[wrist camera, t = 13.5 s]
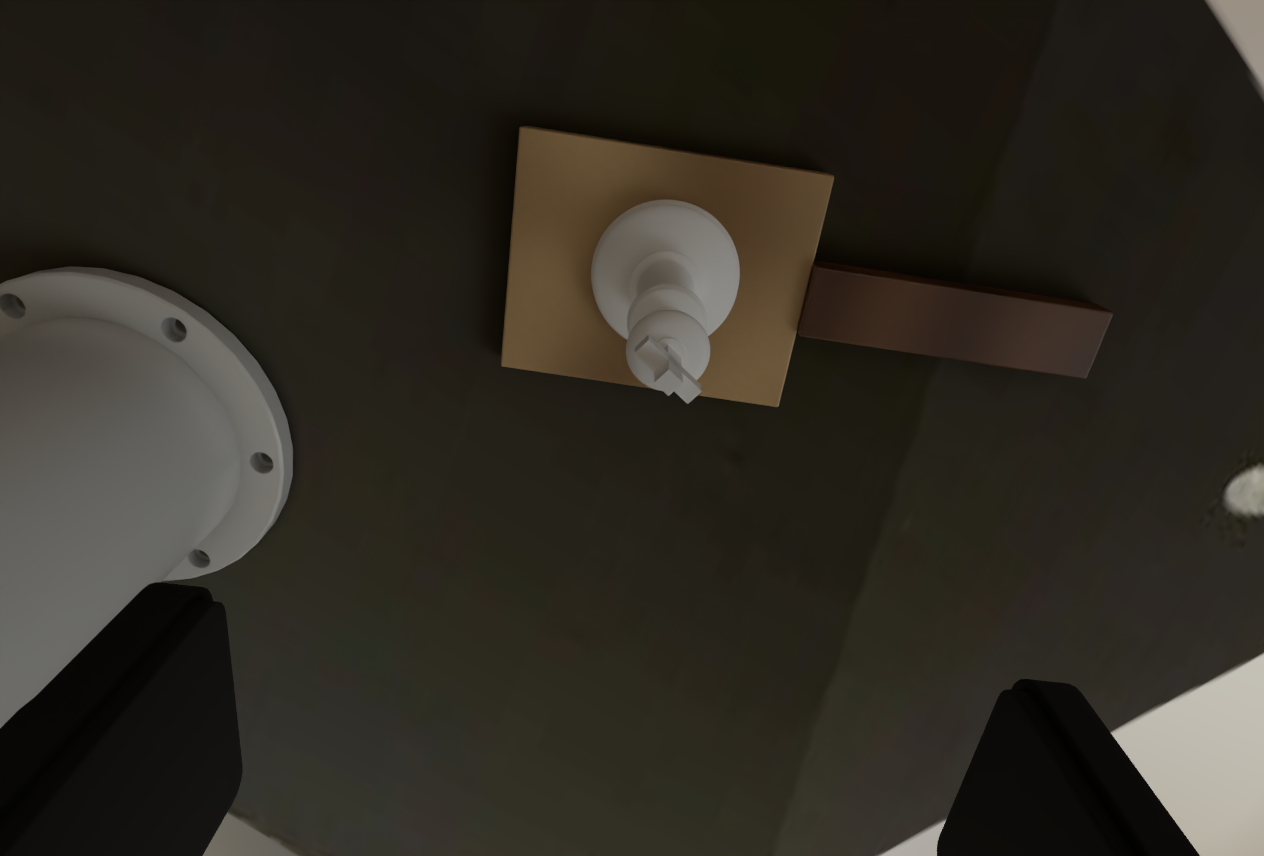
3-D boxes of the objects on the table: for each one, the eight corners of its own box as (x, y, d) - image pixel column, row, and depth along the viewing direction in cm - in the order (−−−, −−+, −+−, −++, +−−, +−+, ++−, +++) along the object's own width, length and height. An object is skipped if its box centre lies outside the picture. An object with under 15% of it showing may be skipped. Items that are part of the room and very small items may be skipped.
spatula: (504, 359, 28) (497, 370, 27) (523, 124, 24) (517, 126, 23) (1041, 439, 28) (1056, 453, 27) (1130, 220, 25) (1151, 226, 24)
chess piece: (666, 165, 24) (671, 215, 15) (770, 276, 25) (833, 384, 16) (561, 275, 25) (506, 381, 16) (663, 374, 27) (666, 523, 18)
